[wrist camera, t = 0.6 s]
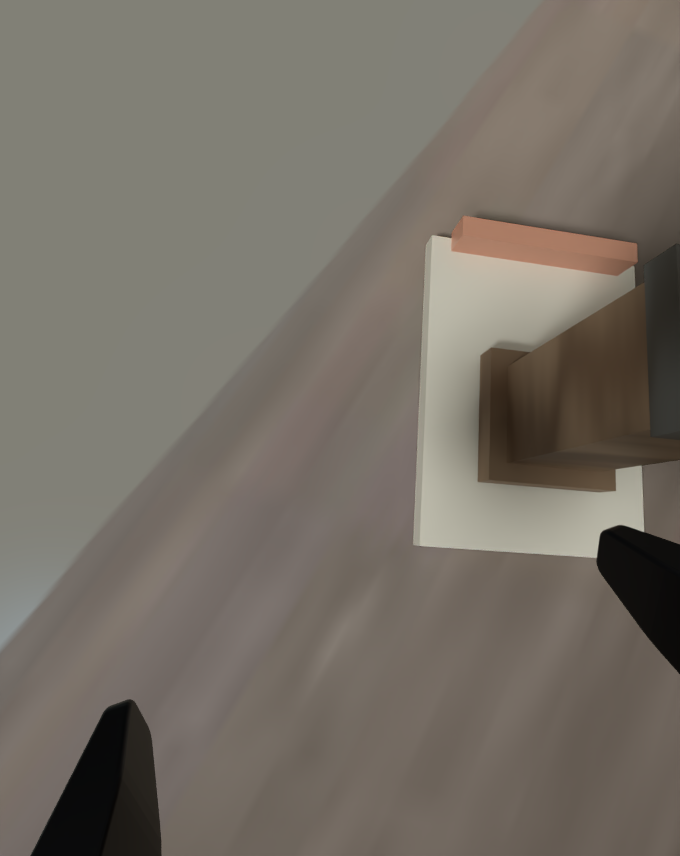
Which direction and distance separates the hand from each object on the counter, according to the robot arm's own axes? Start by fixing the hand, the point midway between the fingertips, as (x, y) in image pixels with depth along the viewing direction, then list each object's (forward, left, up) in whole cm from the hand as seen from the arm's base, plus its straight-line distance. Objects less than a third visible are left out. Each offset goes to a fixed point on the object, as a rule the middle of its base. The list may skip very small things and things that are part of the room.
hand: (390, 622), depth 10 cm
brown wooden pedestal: (-6, -11, -13) cm, 18 cm away
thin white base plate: (-5, -12, -14) cm, 20 cm away
